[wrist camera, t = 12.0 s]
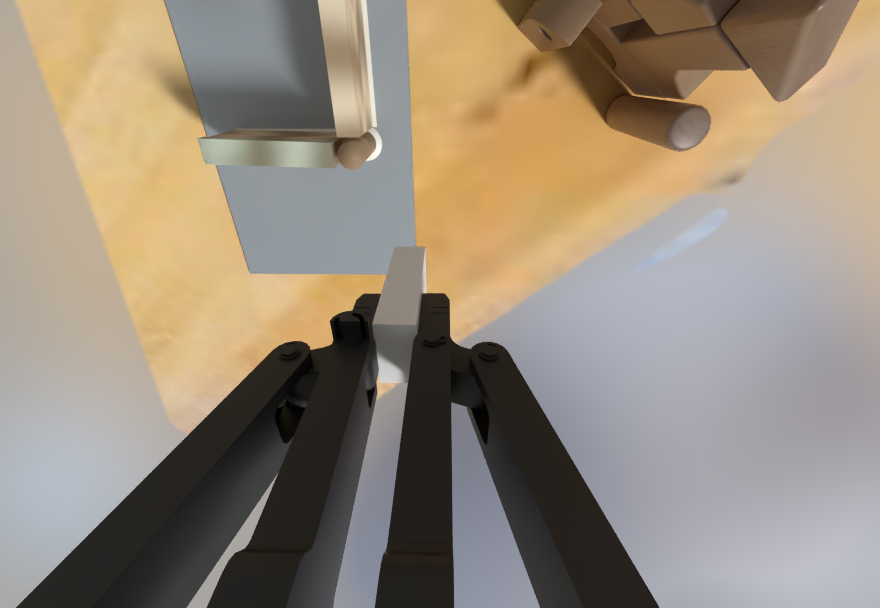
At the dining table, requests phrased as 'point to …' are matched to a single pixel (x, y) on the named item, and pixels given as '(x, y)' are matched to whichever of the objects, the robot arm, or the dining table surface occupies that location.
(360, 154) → the beige wooden panel
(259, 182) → the card
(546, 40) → the wooden toy
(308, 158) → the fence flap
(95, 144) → the dining table surface
